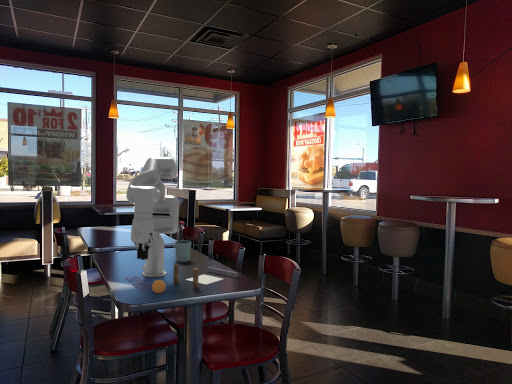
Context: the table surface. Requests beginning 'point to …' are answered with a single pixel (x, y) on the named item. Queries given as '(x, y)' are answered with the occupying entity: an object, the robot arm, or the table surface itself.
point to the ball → (158, 286)
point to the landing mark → (206, 279)
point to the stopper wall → (222, 272)
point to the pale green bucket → (183, 250)
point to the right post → (195, 277)
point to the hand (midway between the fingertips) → (142, 258)
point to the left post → (176, 274)
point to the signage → (140, 284)
